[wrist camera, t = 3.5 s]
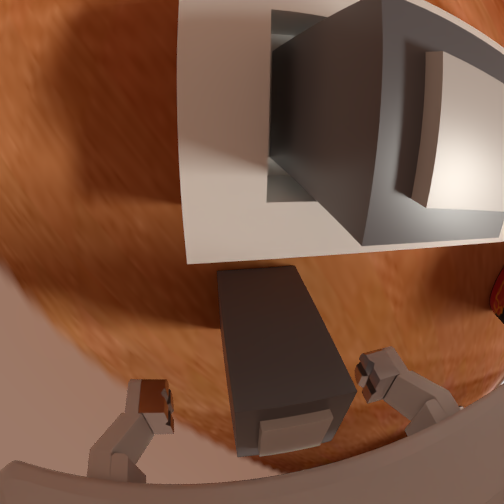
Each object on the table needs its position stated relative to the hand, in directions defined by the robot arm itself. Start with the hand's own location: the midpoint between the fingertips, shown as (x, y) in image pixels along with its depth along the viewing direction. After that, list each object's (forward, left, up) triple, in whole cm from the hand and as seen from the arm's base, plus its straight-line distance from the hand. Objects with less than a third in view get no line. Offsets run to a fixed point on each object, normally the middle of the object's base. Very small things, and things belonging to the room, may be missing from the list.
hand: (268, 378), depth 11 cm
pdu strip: (+10, -11, -5) cm, 16 cm away
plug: (0, 0, -6) cm, 6 cm away
